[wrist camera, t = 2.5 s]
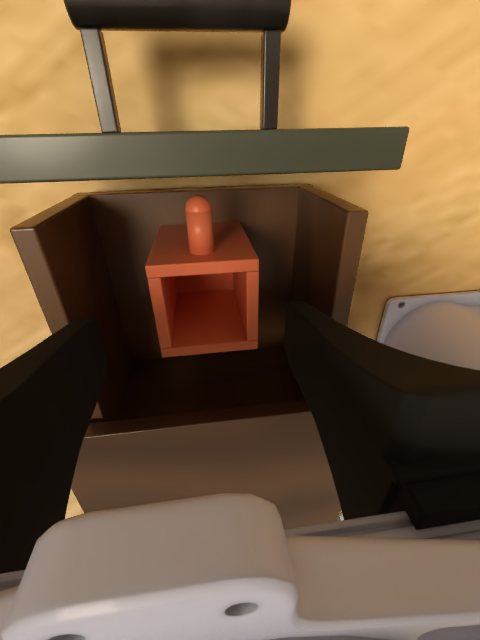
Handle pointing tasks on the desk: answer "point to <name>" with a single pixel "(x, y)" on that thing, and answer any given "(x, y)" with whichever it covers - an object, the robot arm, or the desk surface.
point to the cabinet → (210, 461)
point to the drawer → (169, 209)
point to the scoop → (203, 285)
